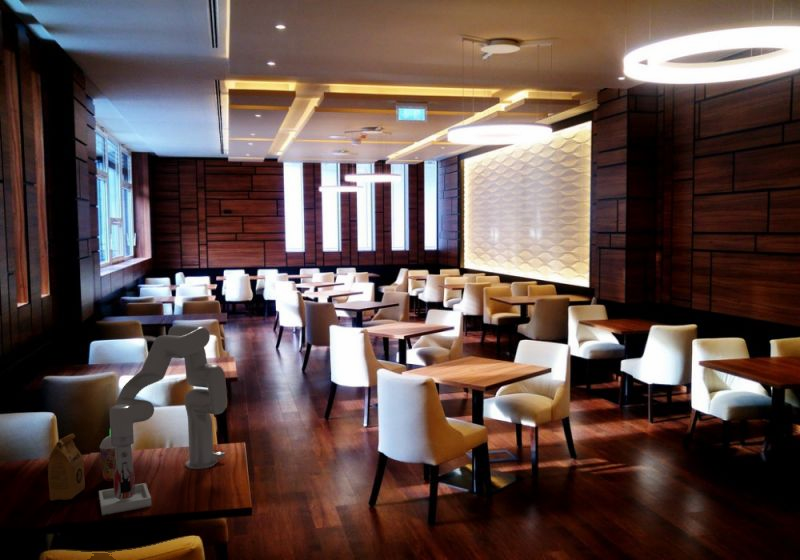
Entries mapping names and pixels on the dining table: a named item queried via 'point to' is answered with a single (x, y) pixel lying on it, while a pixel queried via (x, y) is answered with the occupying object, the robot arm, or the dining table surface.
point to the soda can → (118, 488)
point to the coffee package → (65, 470)
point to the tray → (116, 505)
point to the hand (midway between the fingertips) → (124, 488)
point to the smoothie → (107, 458)
